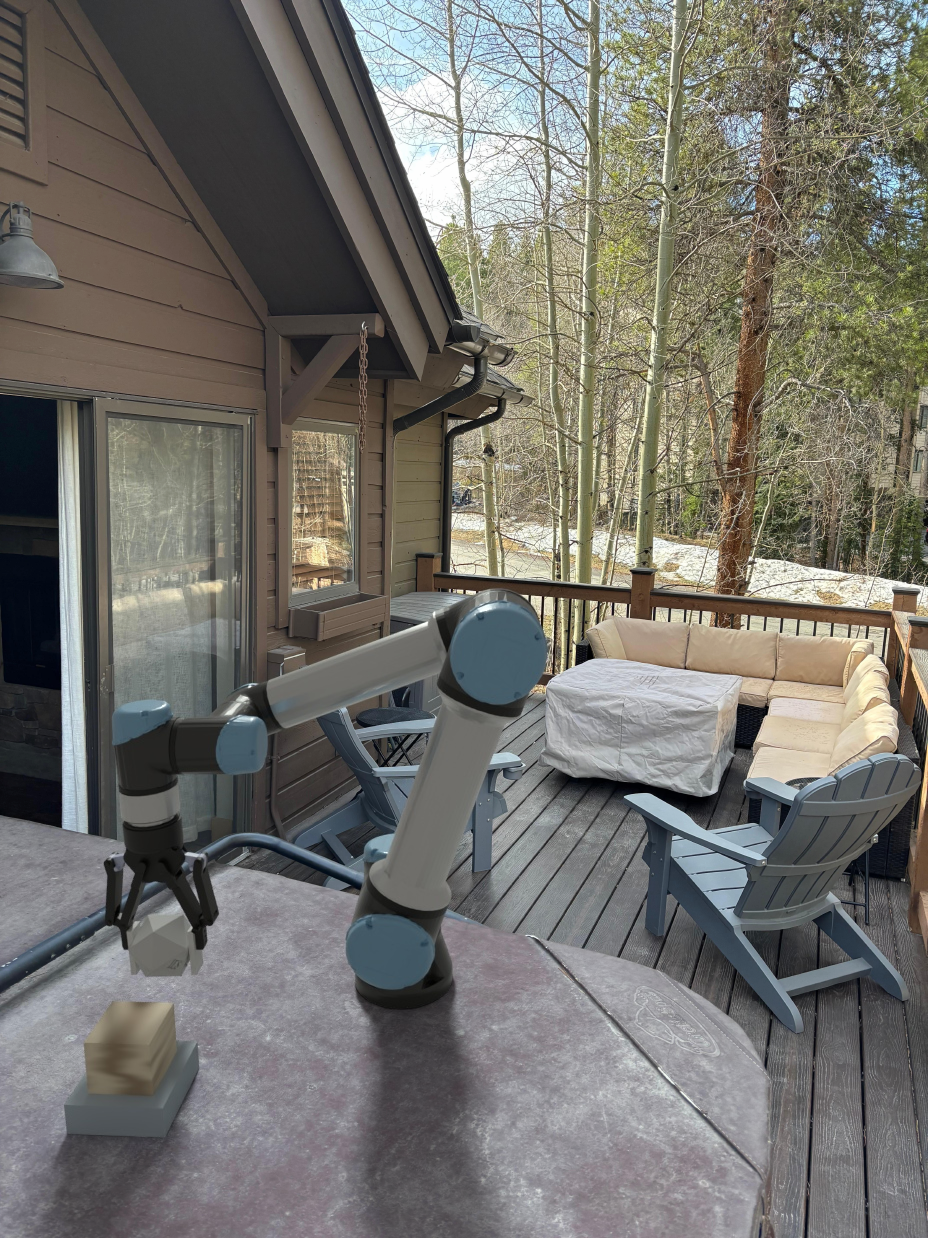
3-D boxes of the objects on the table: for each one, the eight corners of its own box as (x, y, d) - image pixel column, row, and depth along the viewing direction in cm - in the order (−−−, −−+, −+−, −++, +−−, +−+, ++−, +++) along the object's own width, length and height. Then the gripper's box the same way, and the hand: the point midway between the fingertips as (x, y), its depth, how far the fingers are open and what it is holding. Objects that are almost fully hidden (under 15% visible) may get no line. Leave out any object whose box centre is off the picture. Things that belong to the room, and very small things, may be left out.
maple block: (177, 1051, 114) (173, 1003, 112) (153, 1096, 106) (149, 1045, 104) (116, 1049, 114) (112, 1001, 113) (88, 1094, 106) (83, 1043, 105)
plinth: (199, 1068, 116) (197, 1041, 116) (164, 1137, 105) (162, 1108, 104) (110, 1064, 117) (108, 1038, 116) (66, 1134, 105) (63, 1105, 104)
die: (159, 1001, 116) (198, 936, 117) (106, 966, 117) (146, 902, 118) (182, 986, 124) (218, 925, 125) (132, 953, 125) (169, 893, 126)
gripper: (235, 803, 120) (248, 954, 125) (89, 805, 121) (107, 953, 126) (218, 827, 113) (232, 985, 117) (63, 828, 114) (82, 985, 118)
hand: (167, 969), depth 122 cm, fingers closed on die, 8 cm apart
